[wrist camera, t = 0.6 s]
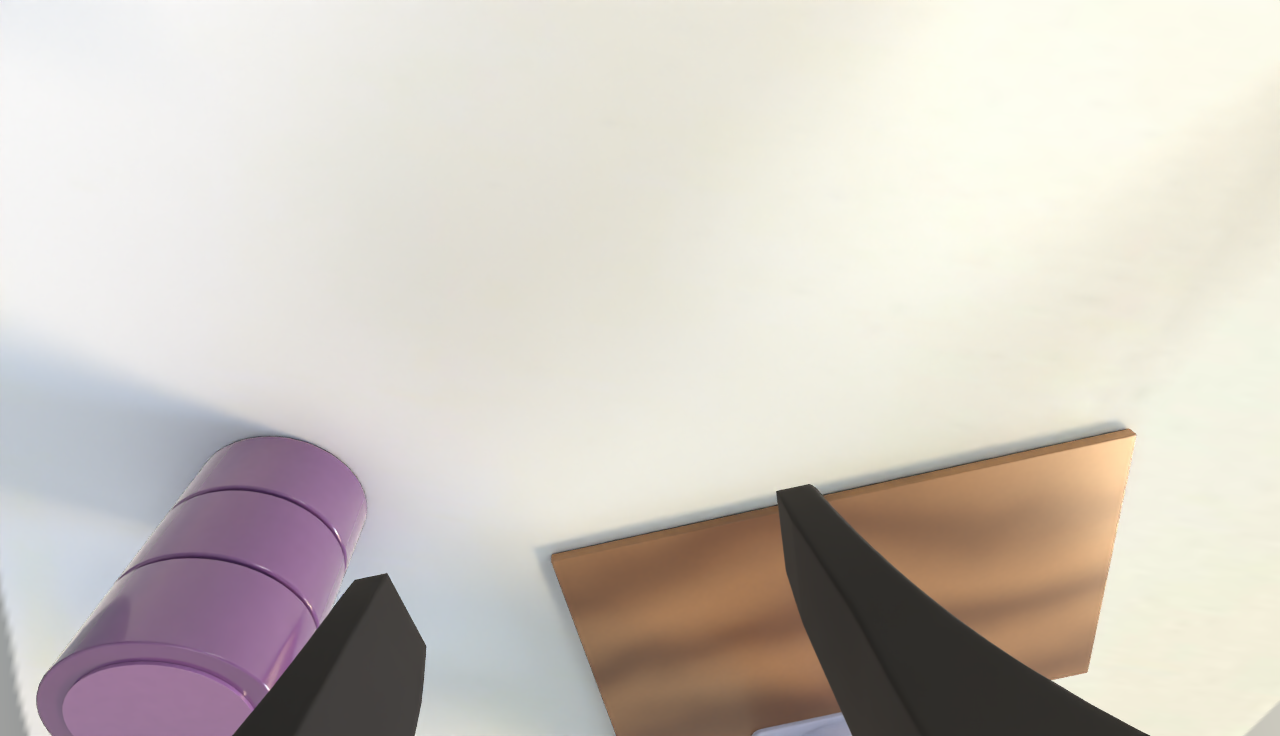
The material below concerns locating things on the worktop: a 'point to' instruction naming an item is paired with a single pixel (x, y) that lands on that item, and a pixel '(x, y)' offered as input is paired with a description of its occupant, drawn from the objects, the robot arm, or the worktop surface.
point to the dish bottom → (289, 482)
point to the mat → (895, 527)
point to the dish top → (175, 653)
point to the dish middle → (253, 543)
